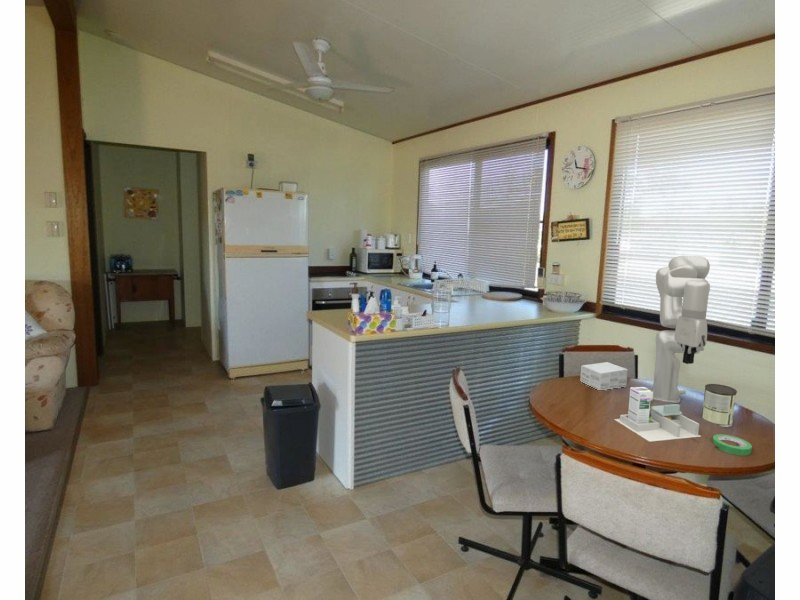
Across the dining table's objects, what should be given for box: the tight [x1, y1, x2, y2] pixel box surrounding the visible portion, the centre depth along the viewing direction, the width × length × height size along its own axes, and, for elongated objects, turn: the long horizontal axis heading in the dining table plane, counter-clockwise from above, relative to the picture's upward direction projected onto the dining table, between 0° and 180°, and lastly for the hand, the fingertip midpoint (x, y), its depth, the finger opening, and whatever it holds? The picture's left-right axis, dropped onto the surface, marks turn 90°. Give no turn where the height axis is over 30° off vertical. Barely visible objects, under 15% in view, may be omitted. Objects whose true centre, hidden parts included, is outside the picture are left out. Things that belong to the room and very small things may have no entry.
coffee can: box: [701, 383, 738, 428], centre depth 177 cm, size 10×10×14 cm
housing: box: [613, 411, 702, 442], centre depth 170 cm, size 22×19×6 cm
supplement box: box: [579, 361, 628, 391], centre depth 219 cm, size 17×13×9 cm
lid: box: [652, 403, 683, 416], centre depth 173 cm, size 9×7×4 cm
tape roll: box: [711, 433, 753, 456], centre depth 157 cm, size 11×11×3 cm
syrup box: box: [627, 386, 654, 424], centre depth 171 cm, size 6×6×14 cm
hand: (687, 362), depth 165 cm, fingers closed
